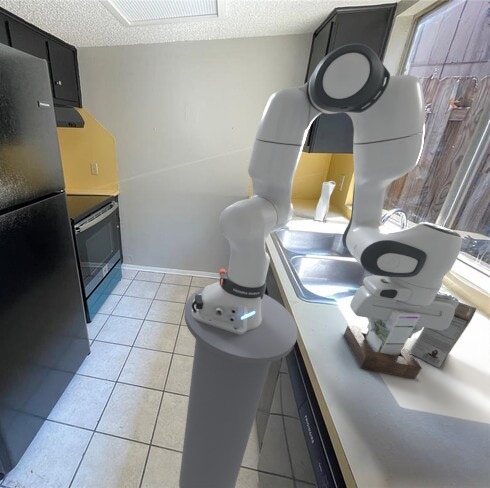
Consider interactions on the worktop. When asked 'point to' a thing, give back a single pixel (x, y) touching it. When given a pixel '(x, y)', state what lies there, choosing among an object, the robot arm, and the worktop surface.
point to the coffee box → (442, 337)
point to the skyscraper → (324, 202)
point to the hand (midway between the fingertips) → (387, 333)
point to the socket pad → (380, 356)
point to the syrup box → (392, 332)
